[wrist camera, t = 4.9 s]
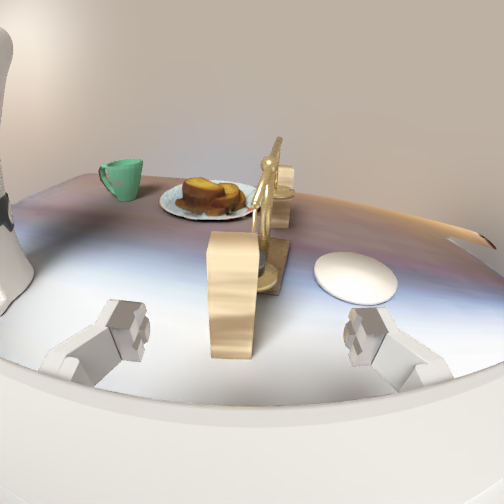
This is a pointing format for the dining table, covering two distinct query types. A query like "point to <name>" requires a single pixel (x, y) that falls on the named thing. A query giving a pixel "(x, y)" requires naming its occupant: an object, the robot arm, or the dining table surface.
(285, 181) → the column
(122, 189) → the mug
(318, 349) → the dining table surface
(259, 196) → the balance
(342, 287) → the dish
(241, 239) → the column
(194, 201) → the food on plate
